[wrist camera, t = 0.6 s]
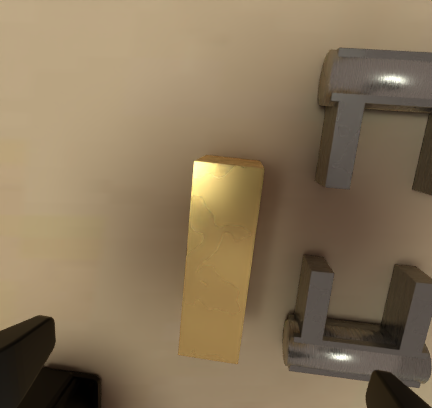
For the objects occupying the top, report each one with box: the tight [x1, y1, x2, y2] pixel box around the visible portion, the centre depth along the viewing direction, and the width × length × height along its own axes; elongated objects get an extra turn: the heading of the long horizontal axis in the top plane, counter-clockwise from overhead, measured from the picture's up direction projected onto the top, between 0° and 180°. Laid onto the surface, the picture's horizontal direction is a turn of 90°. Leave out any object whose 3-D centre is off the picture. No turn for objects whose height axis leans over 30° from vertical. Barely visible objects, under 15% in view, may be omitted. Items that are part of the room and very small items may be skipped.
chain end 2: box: [283, 255, 432, 388], centre depth 19 cm, size 7×8×3 cm
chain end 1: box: [315, 48, 432, 195], centre depth 16 cm, size 7×8×3 cm
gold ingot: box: [178, 155, 265, 364], centre depth 18 cm, size 11×3×5 cm, turn 174°
